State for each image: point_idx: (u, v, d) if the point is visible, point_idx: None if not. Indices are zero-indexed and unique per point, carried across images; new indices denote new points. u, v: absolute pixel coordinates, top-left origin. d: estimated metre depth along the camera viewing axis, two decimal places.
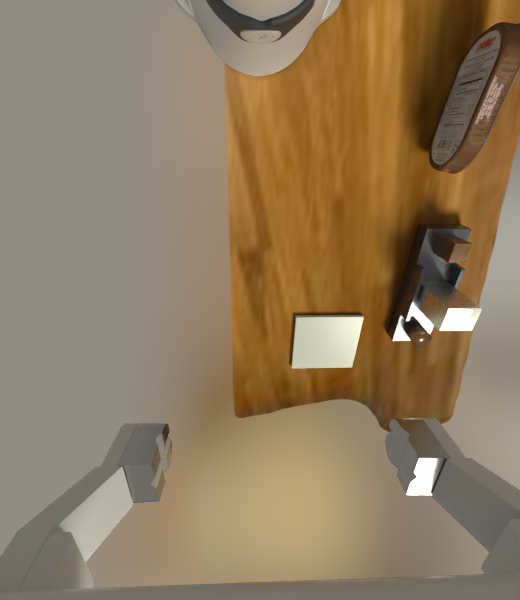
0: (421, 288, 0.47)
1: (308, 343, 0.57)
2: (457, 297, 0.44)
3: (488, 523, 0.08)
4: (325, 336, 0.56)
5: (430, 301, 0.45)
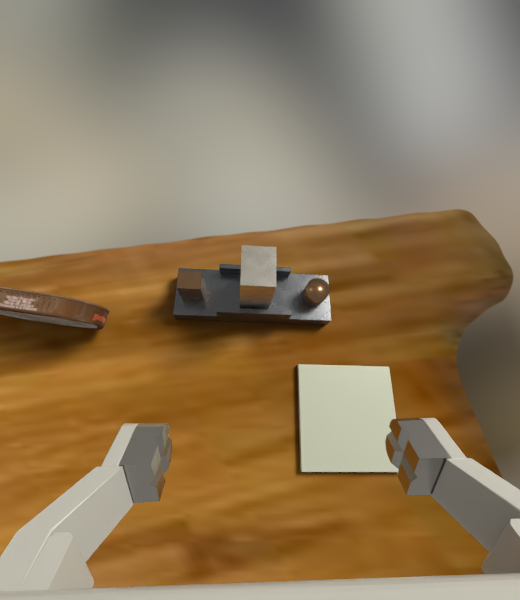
0: (243, 306, 0.38)
1: (349, 445, 0.36)
2: None
3: (488, 523, 0.08)
4: (334, 418, 0.37)
5: (249, 298, 0.35)
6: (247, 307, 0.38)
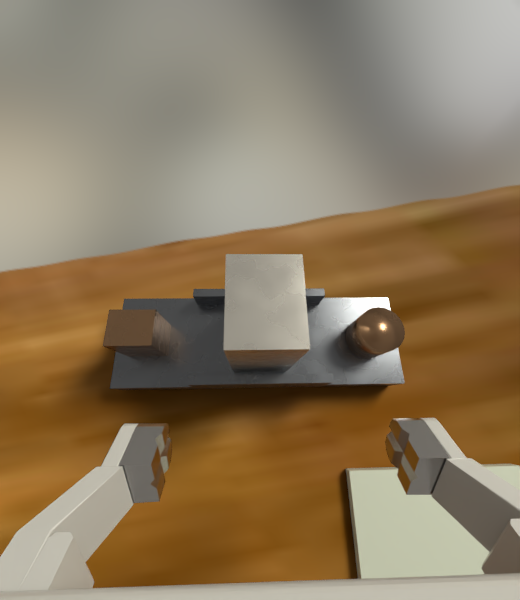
0: (240, 369, 0.20)
1: None
2: None
3: (488, 523, 0.08)
4: None
5: (249, 362, 0.17)
6: (247, 370, 0.20)
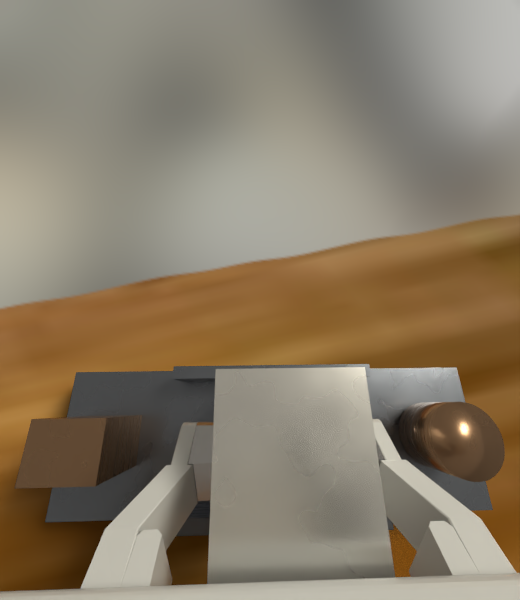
0: None
1: None
2: None
3: (417, 525, 0.08)
4: None
5: None
6: None
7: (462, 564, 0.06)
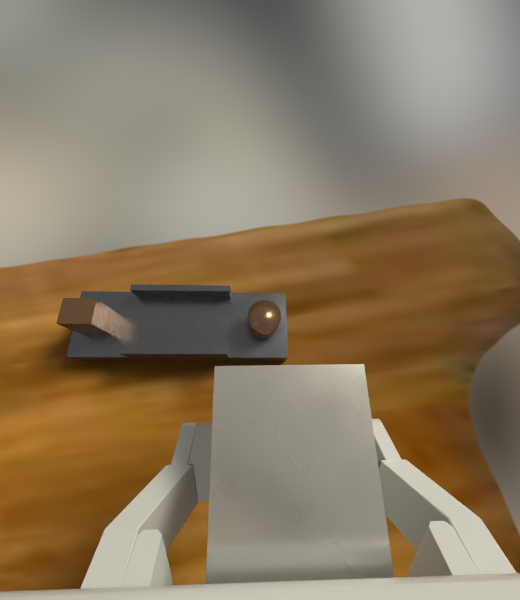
0: None
1: None
2: None
3: (417, 525, 0.08)
4: None
5: None
6: None
7: (462, 564, 0.06)
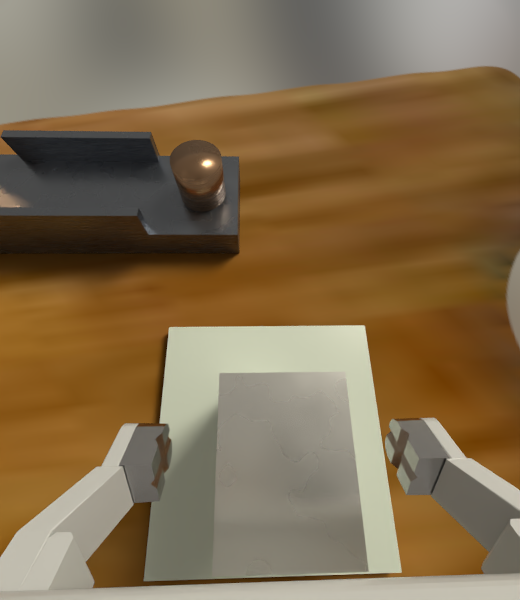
0: None
1: None
2: None
3: (488, 523, 0.08)
4: None
5: None
6: None
7: None
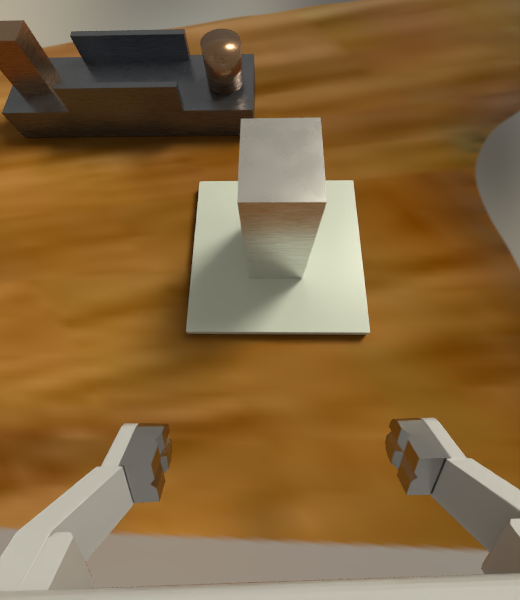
0: (255, 268, 0.20)
1: (274, 292, 0.21)
2: None
3: (488, 523, 0.08)
4: None
5: (264, 246, 0.17)
6: (263, 271, 0.20)
7: None
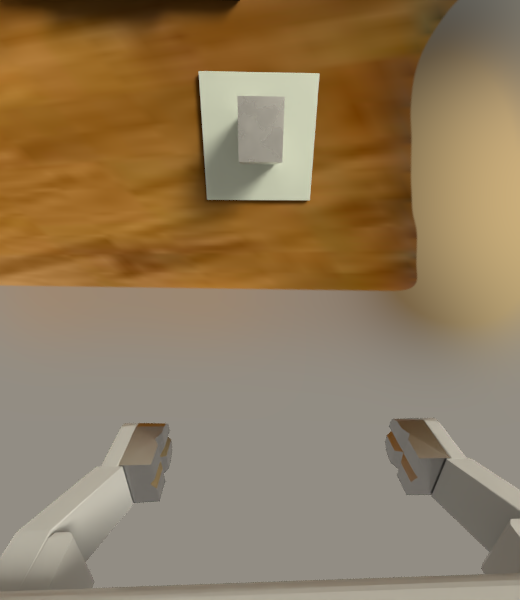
0: None
1: (257, 174, 0.34)
2: None
3: (488, 523, 0.08)
4: None
5: (251, 163, 0.30)
6: None
7: None
